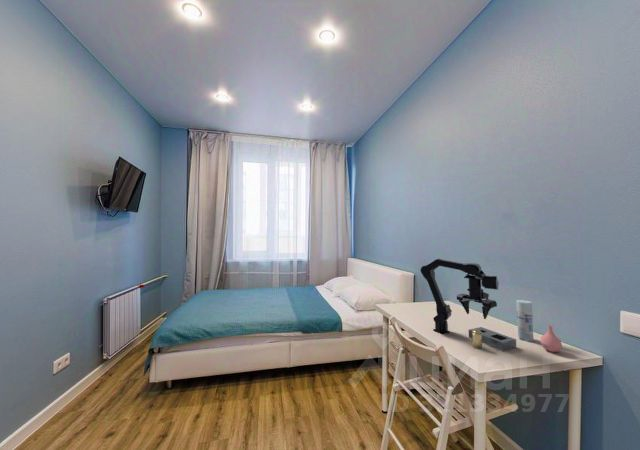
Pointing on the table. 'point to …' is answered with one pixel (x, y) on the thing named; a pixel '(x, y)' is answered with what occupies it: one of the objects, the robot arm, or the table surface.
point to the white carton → (525, 320)
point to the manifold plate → (495, 339)
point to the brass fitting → (477, 339)
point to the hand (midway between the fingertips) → (476, 316)
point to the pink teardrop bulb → (551, 341)
